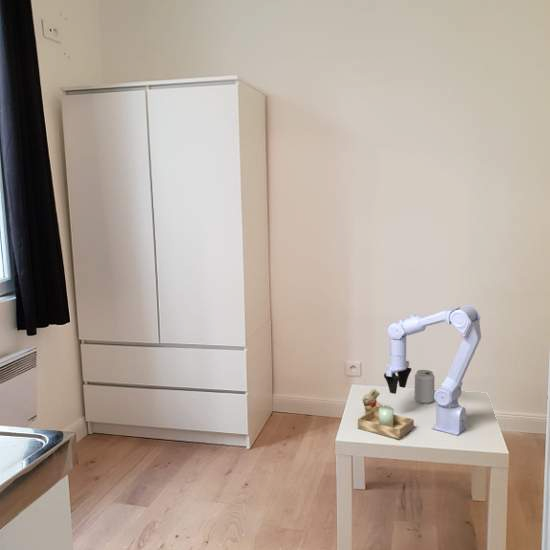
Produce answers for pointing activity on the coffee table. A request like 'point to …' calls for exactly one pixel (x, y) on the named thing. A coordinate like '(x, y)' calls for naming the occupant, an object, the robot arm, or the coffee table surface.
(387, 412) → the rounded sage cylinder
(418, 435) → the coffee table surface
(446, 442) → the coffee table surface
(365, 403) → the beige lumpy upright piece
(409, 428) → the bamboo box
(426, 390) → the can
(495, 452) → the coffee table surface
